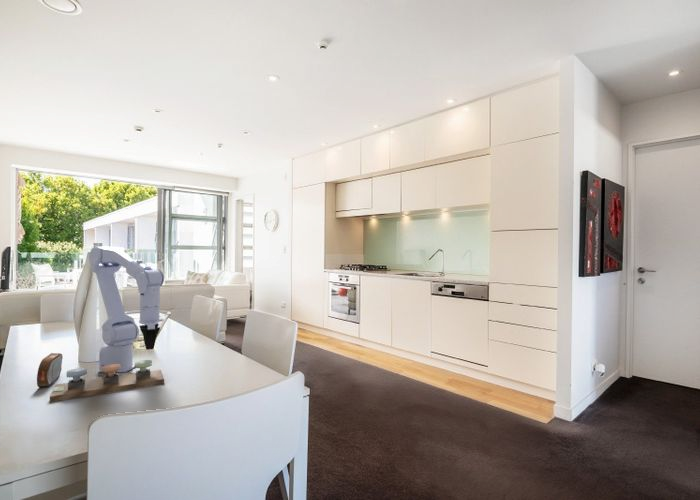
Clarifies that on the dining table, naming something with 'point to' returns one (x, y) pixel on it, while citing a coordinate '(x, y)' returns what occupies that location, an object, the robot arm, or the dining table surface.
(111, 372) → the terracotta button
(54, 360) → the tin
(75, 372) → the slate button
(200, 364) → the dining table surface
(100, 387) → the button board
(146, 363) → the sage button
